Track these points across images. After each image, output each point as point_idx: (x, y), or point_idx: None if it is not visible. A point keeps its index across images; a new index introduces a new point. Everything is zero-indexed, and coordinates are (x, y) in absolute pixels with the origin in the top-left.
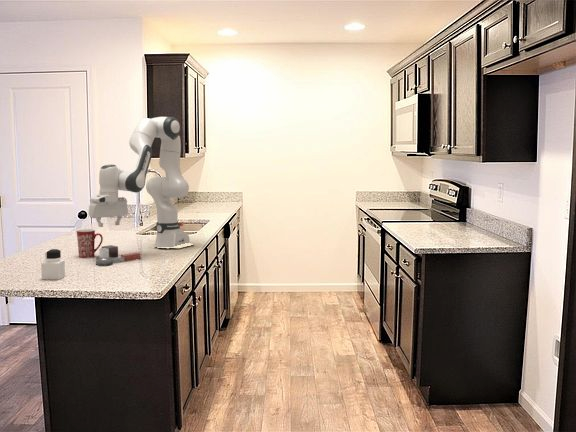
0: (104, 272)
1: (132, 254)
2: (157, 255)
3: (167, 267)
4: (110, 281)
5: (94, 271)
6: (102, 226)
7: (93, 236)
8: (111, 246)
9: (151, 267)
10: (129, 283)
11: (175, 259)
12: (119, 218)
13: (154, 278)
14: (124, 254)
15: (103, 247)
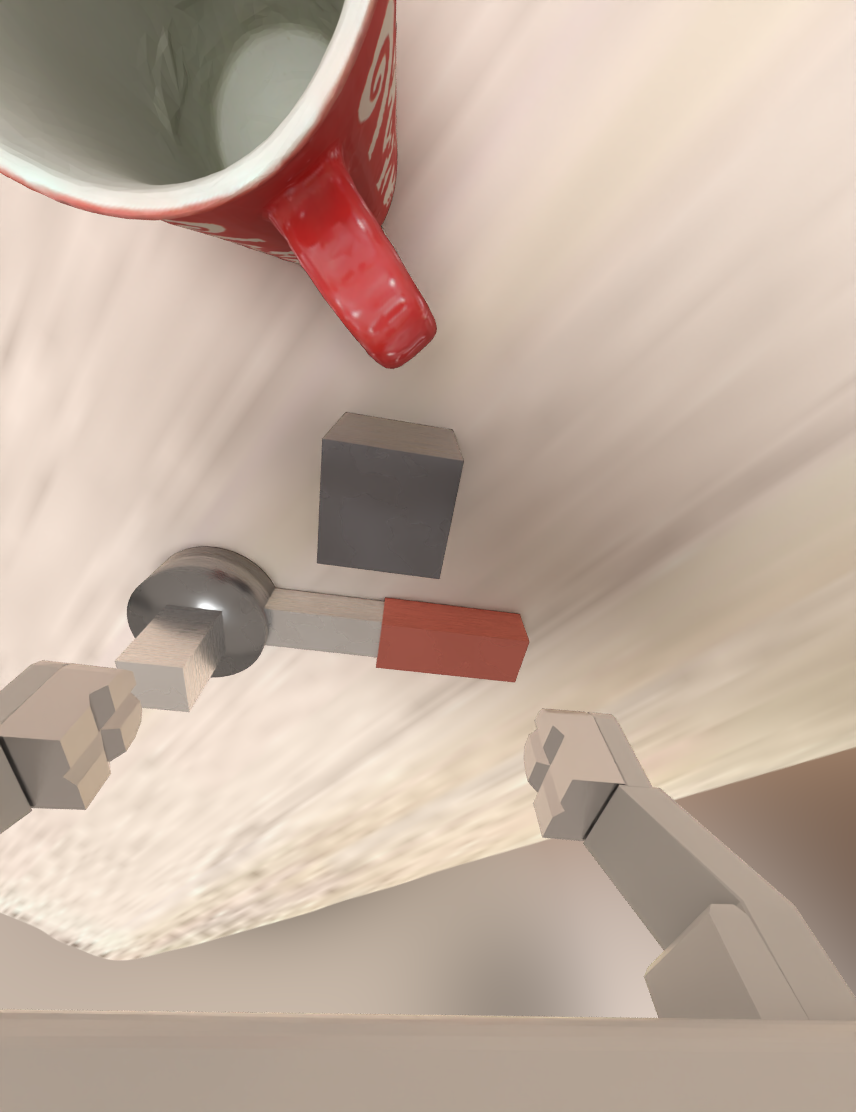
0: None
1: (450, 668)
2: (669, 655)
3: (406, 840)
4: (47, 841)
5: None
6: (126, 724)
7: (270, 219)
8: (401, 526)
9: (359, 805)
10: (101, 887)
11: None
12: (677, 936)
13: (224, 895)
14: (414, 630)
15: (321, 478)
